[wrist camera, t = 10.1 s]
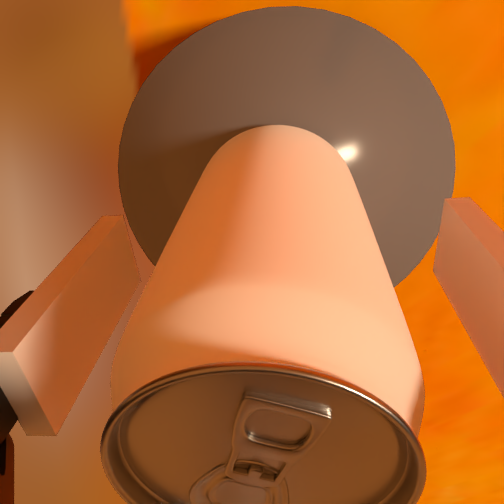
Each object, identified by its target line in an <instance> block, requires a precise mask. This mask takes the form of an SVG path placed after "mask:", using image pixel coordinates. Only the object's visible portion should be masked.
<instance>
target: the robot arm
mask: <svg viewBox="0 0 504 504" xmlns="http://www.w3.org/2000/svg"><path fill="white" fill-rule="evenodd" d="M433 272H434V274H435V275H436V277H437V279H438V281H439V283H440V284H441V286H442V288H443V290H444V291H445V293H446V295H447V297H448V299H449V300H450V302H451V304H452V306H453V308H454V309H455V311H456V313H457V315H458V317H459V318H460V320H461V322H462V324H463V326H464V327H465V329H466V331H467V333H468V335H469V336H470V338H471V340H472V342H473V344H474V345H475V347H476V349H477V351H478V353H479V354H480V356H481V358H482V360H483V361H484V363H485V365H486V367H487V369H488V370H489V372H490V374H491V376H492V378H493V379H494V381H495V383H496V385H497V387H498V388H499V390H500V392H501V394H502V396H503V397H504V232H503V231H502V230H501V229H500V228H499V227H498V226H497V225H496V224H495V223H494V222H493V221H492V220H491V219H490V218H489V217H488V215H487V214H486V213H485V212H484V211H483V210H482V209H481V208H480V207H479V206H478V205H477V204H476V203H475V202H474V201H473V200H472V199H471V198H470V197H468V198H448V199H445V200H444V206H443V212H442V218H441V225H440V231H439V237H438V243H437V250H436V256H435V262H434V268H433ZM140 281H141V278H140V275H139V271H138V267H137V264H136V260H135V256H134V253H133V249H132V245H131V242H130V238H129V235H128V231H127V228H126V223H125V220H124V216H123V215H114V216H102V217H101V218H100V219H99V220H98V221H97V222H96V223H95V225H94V226H93V227H92V228H91V229H90V230H89V231H88V232H87V234H86V235H85V236H84V237H83V238H82V239H81V240H80V241H79V242H78V243H77V244H76V246H75V247H74V248H73V249H72V250H71V251H70V252H69V253H68V255H67V256H66V257H65V258H64V259H63V260H62V261H61V262H60V263H59V264H58V265H57V267H56V268H55V269H54V270H53V271H52V272H51V273H50V274H49V275H48V277H47V278H46V279H45V280H44V281H43V282H42V283H41V284H40V285H39V286H38V288H37V289H36V290H35V291H29V292H27V293H26V294H24V295H23V296H21V297H20V298H18V299H17V300H15V301H13V302H12V303H11V305H9V306H8V308H7V309H6V310H5V311H4V312H3V313H2V314H1V317H0V504H14V444H13V440H12V438H11V436H10V435H9V432H10V430H11V429H12V427H13V426H14V424H15V423H16V421H17V420H18V421H19V423H20V425H21V426H22V428H23V430H24V431H25V433H26V435H31V436H32V435H33V436H37V435H38V436H56V435H57V434H58V432H59V430H60V428H61V426H62V424H63V423H64V421H65V419H66V417H67V415H68V413H69V412H70V410H71V408H72V406H73V404H74V402H75V401H76V399H77V397H78V395H79V393H80V391H81V389H82V388H83V386H84V384H85V382H86V380H87V379H88V377H89V375H90V373H91V371H92V369H93V368H94V366H95V364H96V362H97V360H98V358H99V357H100V355H101V353H102V351H103V349H104V347H105V345H106V344H107V342H108V340H109V338H110V336H111V334H112V332H113V331H114V329H115V327H116V325H117V324H118V322H119V320H120V318H121V316H122V314H123V313H124V310H125V309H126V307H127V305H128V303H129V302H130V300H131V298H132V296H133V294H134V292H135V291H136V289H137V287H138V285H139V283H140Z"/></svg>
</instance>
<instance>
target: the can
mask: <svg viewBox="0 0 504 504" xmlns="http://www.w3.org/2000/svg"><path fill="white" fill-rule="evenodd" d="M110 383H111V385H110V386H111V401H112V410H113V413H112V414H111V416H110V418H109V419H108V421H107V423H106V425H105V428H104V431H103V434H102V439H101V446H100V452H101V461H102V464H103V468H104V471H105V473H106V476H107V478H108V480H109V481H110V483H111V485H112V486H113V488H114V489H115V490H116V491H117V493H118V494H119V495H120V497H121V498H122V499H123V500H124V501H125V502H127V504H416V503H417V502H418V500H419V498H420V496H421V494H422V492H423V489H424V486H425V481H426V461H425V456H424V453H423V449H422V447H421V445H420V442H419V440H418V434H419V430H420V426H421V422H422V416H423V411H424V400H425V389H424V382H423V377H422V372H421V367H420V363H419V360H418V357H417V354H416V351H415V347H414V344H413V341H412V338H411V335H410V332H409V330H408V327H407V324H406V321H405V318H404V315H403V313H402V310H401V307H400V304H399V301H398V299H397V296H396V293H395V290H394V288H393V285H392V282H391V279H390V277H389V274H388V271H387V268H386V265H385V263H384V260H383V257H382V255H381V252H380V249H379V246H378V244H377V241H376V238H375V235H374V233H373V230H372V227H371V225H370V222H369V219H368V217H367V214H366V211H365V208H364V206H363V203H362V200H361V198H360V195H359V192H358V190H357V187H356V185H355V182H354V180H353V177H352V175H351V172H350V170H349V168H348V166H347V164H346V163H345V161H344V160H343V158H342V157H341V155H340V154H339V153H338V152H337V150H336V149H335V148H334V147H333V146H332V145H330V144H329V143H328V142H327V141H325V140H324V139H323V138H321V137H319V136H318V135H316V134H314V133H312V132H310V131H307V130H304V129H301V128H298V127H294V126H287V125H267V126H261V127H256V128H253V129H250V130H247V131H244V132H242V133H240V134H238V135H236V136H235V137H233V138H232V139H230V140H229V141H227V142H226V143H225V144H224V145H223V146H222V147H221V148H220V149H219V150H218V151H217V152H216V153H215V154H214V155H213V157H212V158H211V160H210V161H209V163H208V164H207V166H206V168H205V170H204V171H203V173H202V175H201V177H200V179H199V181H198V183H197V185H196V187H195V189H194V191H193V193H192V195H191V197H190V198H189V200H188V202H187V204H186V206H185V208H184V210H183V212H182V214H181V216H180V218H179V220H178V222H177V224H176V226H175V228H174V230H173V232H172V234H171V236H170V238H169V240H168V242H167V244H166V246H165V248H164V250H163V252H162V254H161V256H160V258H159V260H158V262H157V264H156V266H155V268H154V270H153V272H152V274H151V276H150V279H149V280H148V282H147V284H146V287H145V288H144V290H143V292H142V294H141V296H140V298H139V301H138V303H137V305H136V307H135V309H134V311H133V313H132V315H131V317H130V319H129V321H128V323H127V326H126V328H125V330H124V332H123V335H122V337H121V339H120V341H119V344H118V347H117V350H116V353H115V356H114V359H113V363H112V368H111V382H110Z"/></svg>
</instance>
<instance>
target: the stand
mask: <svg viewBox="0 0 504 504" xmlns="http://www.w3.org/2000/svg"><path fill="white" fill-rule="evenodd" d="M267 125H287V126H294V127H298V128H301V129H304V130H307V131H310V132H312V133H314V134H316V135H318V136H319V137H321V138H323V139H324V140H325V141H327V142H328V143H329V144H330V145H332V146H333V147H334V148H335V149H336V150H337V152H338V153H339V154H340V155H341V157H342V158H343V160H344V161H345V163H346V164H347V166H348V168H349V170H350V172H351V175H352V177H353V180H354V182H355V185H356V187H357V190H358V192H359V195H360V198H361V200H362V203H363V206H364V208H365V211H366V214H367V217H368V219H369V222H370V225H371V227H372V230H373V233H374V235H375V238H376V241H377V244H378V246H379V249H380V252H381V255H382V257H383V260H384V263H385V265H386V268H387V271H388V274H389V277H390V279H391V282H392V285H393V288H394V287H395V286H396V285H398V284H399V283H400V282H401V281H402V280H403V279H405V278H406V277H407V276H408V275H409V274H410V272H411V271H412V270H413V269H414V268H415V267H416V266H417V265H418V264H419V263H420V261H421V260H422V259H423V257H424V256H425V254H426V253H427V252H428V250H429V249H430V248H431V246H432V244H433V242H434V241H435V239H436V237H437V235H438V233H439V231H440V225H441V218H442V212H443V206H444V200H445V199H448V198H451V197H452V193H453V188H454V177H455V149H454V141H453V136H452V131H451V126H450V122H449V119H448V117H447V114H446V111H445V109H444V106H443V103H442V101H441V99H440V97H439V95H438V93H437V92H436V90H435V88H434V86H433V84H432V83H431V81H430V79H429V78H428V77H427V75H426V74H425V73H424V72H423V70H422V69H421V68H420V67H419V65H418V64H417V63H416V61H415V60H414V59H413V58H412V57H411V56H409V55H408V54H407V53H406V52H405V51H404V50H403V49H402V48H401V47H400V46H399V45H398V44H397V43H395V42H394V41H392V40H391V39H389V38H388V37H386V36H385V35H383V34H382V33H380V32H379V31H377V30H376V29H374V28H372V27H370V26H368V25H366V24H364V23H362V22H359V21H357V20H355V19H353V18H351V17H348V16H344V15H341V14H337V13H334V12H330V11H327V10H322V9H314V8H306V7H298V6H292V7H268V8H262V9H257V10H251V11H246V12H242V13H239V14H236V15H233V16H230V17H227V18H224V19H221V20H219V21H216V22H215V23H213V24H211V25H209V26H207V27H205V28H203V29H201V30H199V31H197V32H195V33H194V34H193V35H191V36H190V37H188V38H187V39H186V40H184V41H183V42H182V43H180V44H179V45H178V46H176V47H175V48H174V49H173V50H172V51H171V52H170V53H169V54H168V55H167V56H166V57H165V58H164V59H163V60H162V61H161V62H160V63H159V64H157V66H156V67H155V68H154V70H153V71H152V72H151V74H150V75H149V76H148V78H147V79H146V80H145V82H144V83H143V84H142V86H141V88H140V90H139V92H138V94H137V95H136V97H135V99H134V101H133V103H132V105H131V108H130V110H129V113H128V116H127V118H126V121H125V124H124V128H123V132H122V137H121V142H120V146H119V161H118V174H119V187H120V193H121V197H122V203H123V207H124V210H125V213H126V216H127V219H128V222H129V225H130V227H131V229H132V231H133V233H134V235H135V237H136V239H137V241H138V243H139V245H140V246H141V248H142V249H143V251H144V252H145V254H146V255H147V257H148V258H149V259H150V261H151V262H152V263H153V264H154V265H155V266H156V264H157V262H158V260H159V258H160V256H161V254H162V252H163V250H164V248H165V246H166V244H167V242H168V240H169V238H170V236H171V234H172V232H173V230H174V228H175V226H176V224H177V222H178V220H179V218H180V216H181V214H182V212H183V210H184V208H185V206H186V204H187V202H188V200H189V198H190V197H191V195H192V193H193V191H194V189H195V187H196V185H197V183H198V181H199V179H200V177H201V175H202V173H203V171H204V170H205V168H206V166H207V164H208V163H209V161H210V160H211V158H212V157H213V155H214V154H215V153H216V152H217V151H218V150H219V149H220V148H221V147H222V146H223V145H224V144H225V143H226V142H227V141H229V140H230V139H232V138H233V137H235V136H236V135H238V134H240V133H242V132H244V131H247V130H250V129H253V128H256V127H261V126H267Z"/></svg>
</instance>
